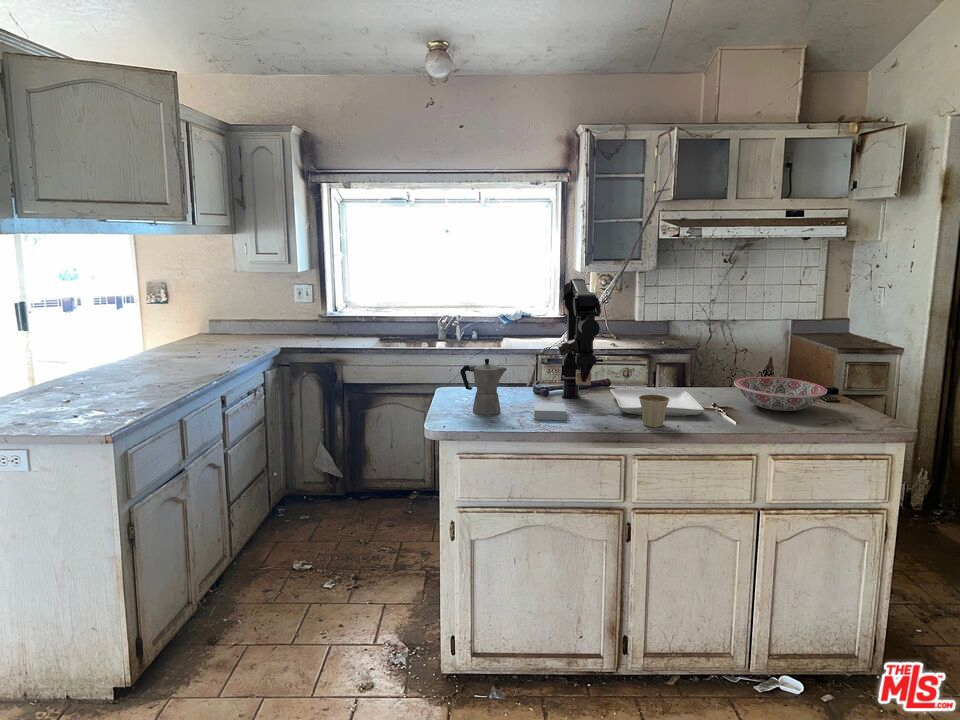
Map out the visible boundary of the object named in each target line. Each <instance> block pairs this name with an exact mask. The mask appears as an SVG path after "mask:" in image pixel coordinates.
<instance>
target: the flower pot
mask: <svg viewBox="0 0 960 720" xmlns="http://www.w3.org/2000/svg"><path fill="white" fill-rule="evenodd" d="M639 399H640V403H641V409H642V415H641V418H642V425H644V426H647V427H650V428H660V427H664V422H665V417H666V415H665V413H666V408H667V405H668V401H670V398H668V397H666V396H662V395H651V394H650V395H641V396H639Z"/></svg>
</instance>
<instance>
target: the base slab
mask: <svg viewBox="0 0 960 720" xmlns="http://www.w3.org/2000/svg"><path fill="white" fill-rule="evenodd" d="M566 409H567V408H566V403H563V402H560V403H559V402H558V403H557V402H534V411H533V413H534V415H533V416H534V417H533V420H536V421H537V420H539V421H542V420H544V421H545V420H546V421H567V419H566V417H567V410H566Z"/></svg>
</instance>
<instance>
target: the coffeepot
mask: <svg viewBox="0 0 960 720" xmlns="http://www.w3.org/2000/svg"><path fill="white" fill-rule="evenodd" d="M506 371H508V369H507V367H503V366H499V365H496V364H491V363H490V358H485V359H484V363H482V364H477V365H469V364H468V365H467V364H465V365H464V366H462V368H461V369H460V372H459V373H460V376H461V379H462V381H463V384H464V387H465V389H466V390H470V391H471V390H473V389H474V388H473V386H469V380H468V378H467V377H468V376H467V374H466V372H471V373H473V379H474V384H475V385H474V386H475V387H476V392H475V394H474V395H475V396H474V401H473V405H472V406H473V407H472V412H473V413H474V414H477V415H481V416H494V415H497V414H500V412H501V404H500V400H499V393H498V387H499V384H500V379H501V378H502V376H503V375H504V373H505V372H506Z"/></svg>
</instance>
